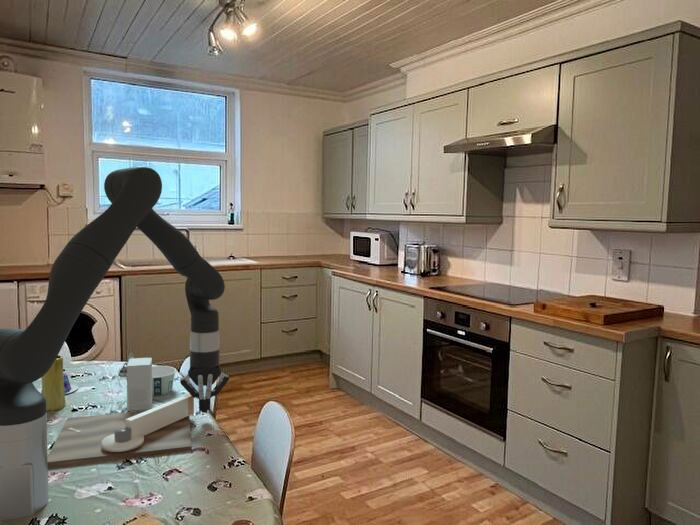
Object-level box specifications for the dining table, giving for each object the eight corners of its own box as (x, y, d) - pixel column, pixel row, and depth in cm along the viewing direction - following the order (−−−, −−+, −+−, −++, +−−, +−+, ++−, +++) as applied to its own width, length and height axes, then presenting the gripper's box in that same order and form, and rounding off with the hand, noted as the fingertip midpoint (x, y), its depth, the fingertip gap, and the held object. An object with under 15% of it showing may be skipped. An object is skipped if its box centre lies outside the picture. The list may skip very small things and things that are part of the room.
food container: (135, 387, 167) (135, 367, 167) (175, 384, 171) (175, 364, 171) (134, 400, 156) (134, 378, 155) (177, 396, 160) (177, 375, 160)
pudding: (63, 399, 156) (62, 382, 155) (24, 397, 157) (23, 380, 156) (86, 386, 168) (86, 370, 167) (50, 384, 168) (49, 368, 168)
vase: (54, 412, 145) (53, 361, 144) (35, 410, 146) (34, 359, 145) (70, 404, 151) (69, 355, 150) (52, 402, 152) (50, 354, 151)
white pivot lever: (120, 455, 116) (120, 432, 116) (92, 446, 120) (92, 424, 119) (204, 416, 140) (204, 397, 139) (178, 410, 144) (178, 391, 143)
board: (191, 452, 122) (191, 445, 122) (44, 469, 113) (44, 462, 112) (188, 412, 147) (188, 407, 147) (67, 423, 137) (67, 417, 137)
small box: (129, 402, 154) (129, 358, 153) (152, 400, 156) (152, 357, 155) (126, 411, 146) (126, 365, 145) (151, 410, 148) (150, 364, 147)
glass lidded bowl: (154, 370, 187) (154, 349, 186) (143, 377, 178) (142, 355, 177) (129, 369, 187) (129, 348, 187) (117, 376, 179) (117, 354, 178)
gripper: (178, 352, 133) (178, 419, 134) (231, 349, 137) (231, 414, 139) (178, 345, 140) (178, 409, 141) (229, 342, 144) (228, 404, 146)
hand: (204, 411), depth 140 cm, fingers closed
